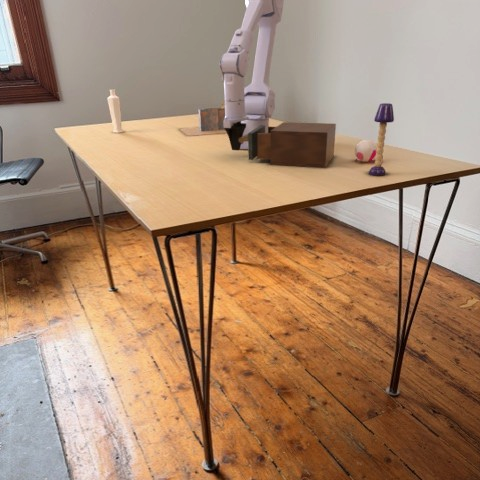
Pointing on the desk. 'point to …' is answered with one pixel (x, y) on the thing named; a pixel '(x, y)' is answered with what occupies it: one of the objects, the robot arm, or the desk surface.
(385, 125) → the toy lamp
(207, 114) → the architectural model on board
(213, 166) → the desk surface
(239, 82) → the robot arm
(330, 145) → the cabinet
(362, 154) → the stress ball
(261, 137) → the drawer
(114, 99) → the perfume bottle
